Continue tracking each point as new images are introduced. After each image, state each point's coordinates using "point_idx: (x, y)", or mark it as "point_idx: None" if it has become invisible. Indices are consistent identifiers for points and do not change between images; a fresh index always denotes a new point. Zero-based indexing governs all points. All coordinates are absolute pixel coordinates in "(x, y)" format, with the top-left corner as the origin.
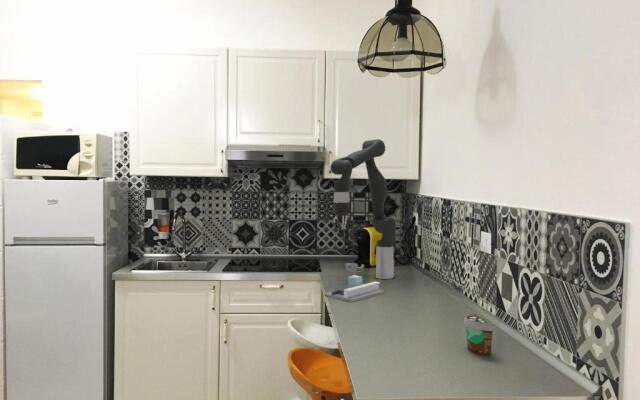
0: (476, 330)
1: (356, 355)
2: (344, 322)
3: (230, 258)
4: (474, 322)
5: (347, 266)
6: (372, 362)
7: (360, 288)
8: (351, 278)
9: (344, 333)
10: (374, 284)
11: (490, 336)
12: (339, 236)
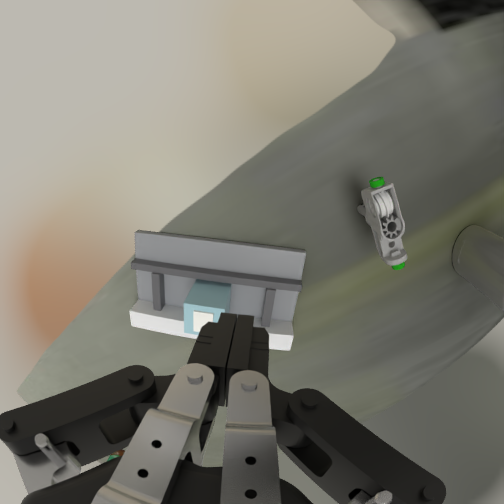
0: None
1: (32, 382)
2: (59, 351)
3: None
4: None
5: (369, 198)
6: (36, 394)
7: (184, 334)
8: (184, 315)
9: (43, 362)
10: None
11: None
12: (221, 316)
